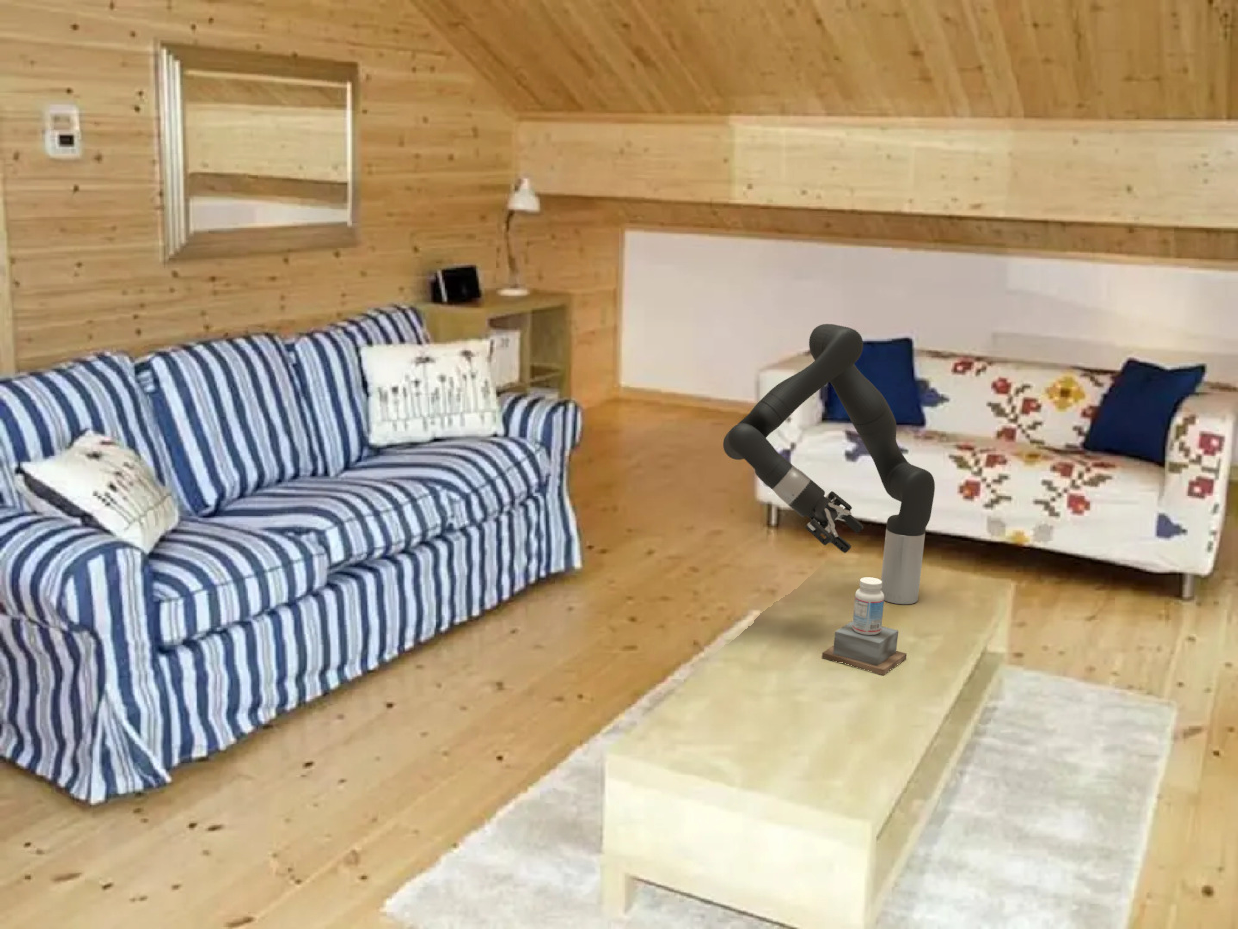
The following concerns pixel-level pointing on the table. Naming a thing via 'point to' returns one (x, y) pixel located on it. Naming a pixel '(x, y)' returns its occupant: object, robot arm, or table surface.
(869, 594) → the pill bottle
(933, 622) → the table surface
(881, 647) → the tower base
